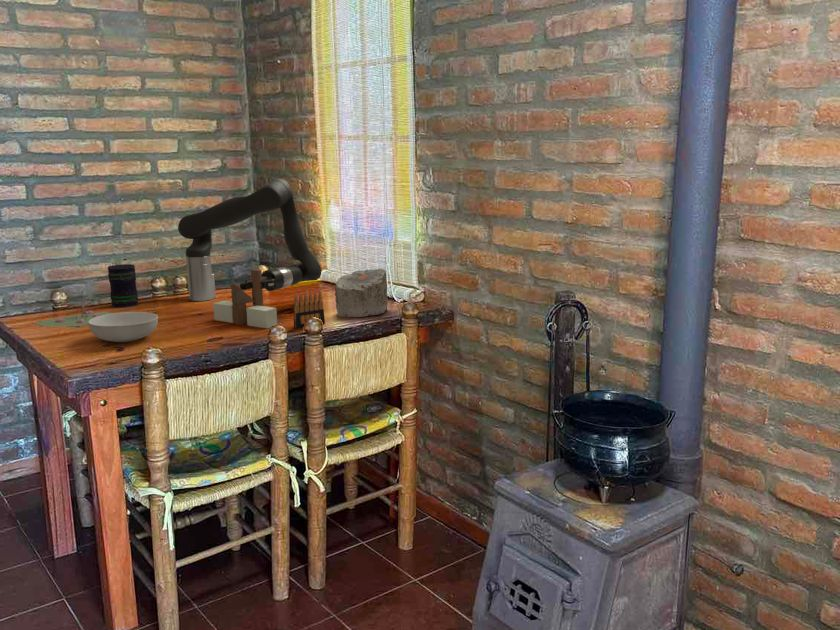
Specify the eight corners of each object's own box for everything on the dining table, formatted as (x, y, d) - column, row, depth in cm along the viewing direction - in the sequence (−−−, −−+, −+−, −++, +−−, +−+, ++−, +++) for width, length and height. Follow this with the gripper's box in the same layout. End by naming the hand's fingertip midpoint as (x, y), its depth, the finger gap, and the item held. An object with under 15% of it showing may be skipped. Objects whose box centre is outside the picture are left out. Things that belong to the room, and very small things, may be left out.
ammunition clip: (322, 322, 272) (321, 288, 269) (325, 323, 270) (323, 289, 267) (293, 327, 266) (291, 292, 263) (296, 328, 264) (294, 292, 262)
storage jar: (106, 305, 304) (100, 259, 300) (128, 301, 312) (123, 255, 307) (122, 308, 298) (117, 261, 294) (144, 303, 306) (139, 257, 302)
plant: (38, 333, 266) (35, 306, 264) (32, 321, 283) (29, 296, 281) (116, 323, 278) (114, 297, 276) (106, 312, 296) (104, 288, 294)
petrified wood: (335, 319, 276) (333, 276, 273) (336, 308, 293) (334, 268, 290) (389, 317, 278) (388, 275, 274) (387, 306, 295) (386, 266, 291)
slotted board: (225, 317, 282) (223, 300, 281) (277, 325, 269) (276, 308, 267) (214, 319, 278) (213, 303, 277) (266, 328, 265) (265, 310, 263)
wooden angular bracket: (233, 323, 272) (229, 271, 268) (261, 318, 279) (258, 268, 275) (238, 325, 270) (234, 273, 265) (266, 320, 276) (263, 269, 272)
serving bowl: (159, 344, 248) (157, 322, 246) (87, 350, 242) (84, 328, 240) (160, 328, 267) (158, 308, 266) (93, 334, 261) (91, 313, 260)
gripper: (262, 266, 287) (227, 274, 273) (290, 269, 280) (255, 277, 266) (264, 287, 289) (228, 295, 274) (291, 290, 281) (256, 299, 267)
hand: (241, 287), depth 270 cm, fingers closed
